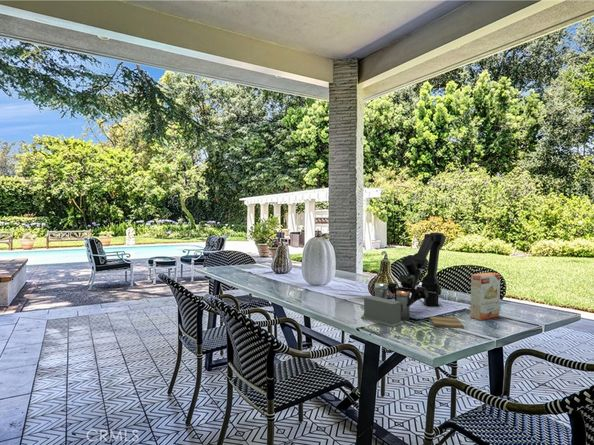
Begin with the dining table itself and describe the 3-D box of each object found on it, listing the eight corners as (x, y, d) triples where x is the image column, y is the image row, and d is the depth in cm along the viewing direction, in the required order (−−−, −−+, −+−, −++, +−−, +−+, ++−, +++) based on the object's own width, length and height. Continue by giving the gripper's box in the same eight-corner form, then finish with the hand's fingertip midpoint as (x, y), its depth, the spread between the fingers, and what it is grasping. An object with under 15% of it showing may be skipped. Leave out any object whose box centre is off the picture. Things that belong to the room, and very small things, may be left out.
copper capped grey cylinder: (407, 316, 179) (407, 289, 179) (411, 320, 173) (411, 292, 172) (394, 316, 179) (394, 289, 178) (398, 320, 173) (398, 292, 172)
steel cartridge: (385, 307, 196) (385, 282, 196) (388, 310, 190) (388, 285, 190) (373, 307, 196) (373, 282, 196) (376, 310, 190) (376, 285, 189)
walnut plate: (429, 318, 175) (429, 316, 175) (456, 320, 173) (456, 317, 173) (434, 326, 163) (434, 324, 163) (463, 328, 161) (463, 325, 161)
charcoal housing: (371, 315, 181) (371, 295, 181) (403, 323, 168) (403, 302, 167) (361, 318, 176) (361, 297, 176) (393, 327, 162) (393, 305, 162)
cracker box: (480, 321, 172) (481, 276, 171) (469, 317, 177) (470, 274, 176) (500, 317, 178) (501, 273, 177) (488, 313, 183) (489, 271, 183)
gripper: (389, 266, 184) (377, 292, 176) (426, 270, 172) (415, 298, 164) (396, 279, 190) (385, 305, 183) (432, 284, 178) (422, 312, 170)
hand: (401, 305), depth 175 cm, fingers closed on copper capped grey cylinder, 6 cm apart
